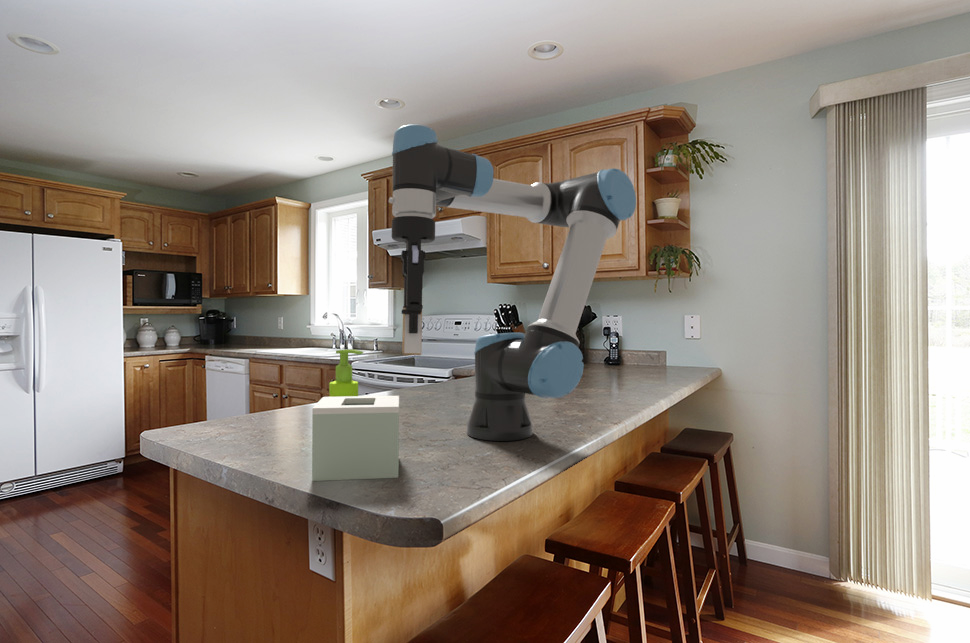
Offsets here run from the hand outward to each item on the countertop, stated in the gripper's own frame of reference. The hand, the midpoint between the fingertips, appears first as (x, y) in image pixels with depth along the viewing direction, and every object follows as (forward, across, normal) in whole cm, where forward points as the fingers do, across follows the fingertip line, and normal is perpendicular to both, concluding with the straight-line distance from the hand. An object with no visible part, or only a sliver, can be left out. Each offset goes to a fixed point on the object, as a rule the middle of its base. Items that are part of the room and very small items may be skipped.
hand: (411, 351), depth 92 cm
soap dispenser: (+21, -22, -12) cm, 33 cm away
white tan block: (0, 0, 0) cm, 0 cm away
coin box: (+21, -3, -9) cm, 23 cm away
